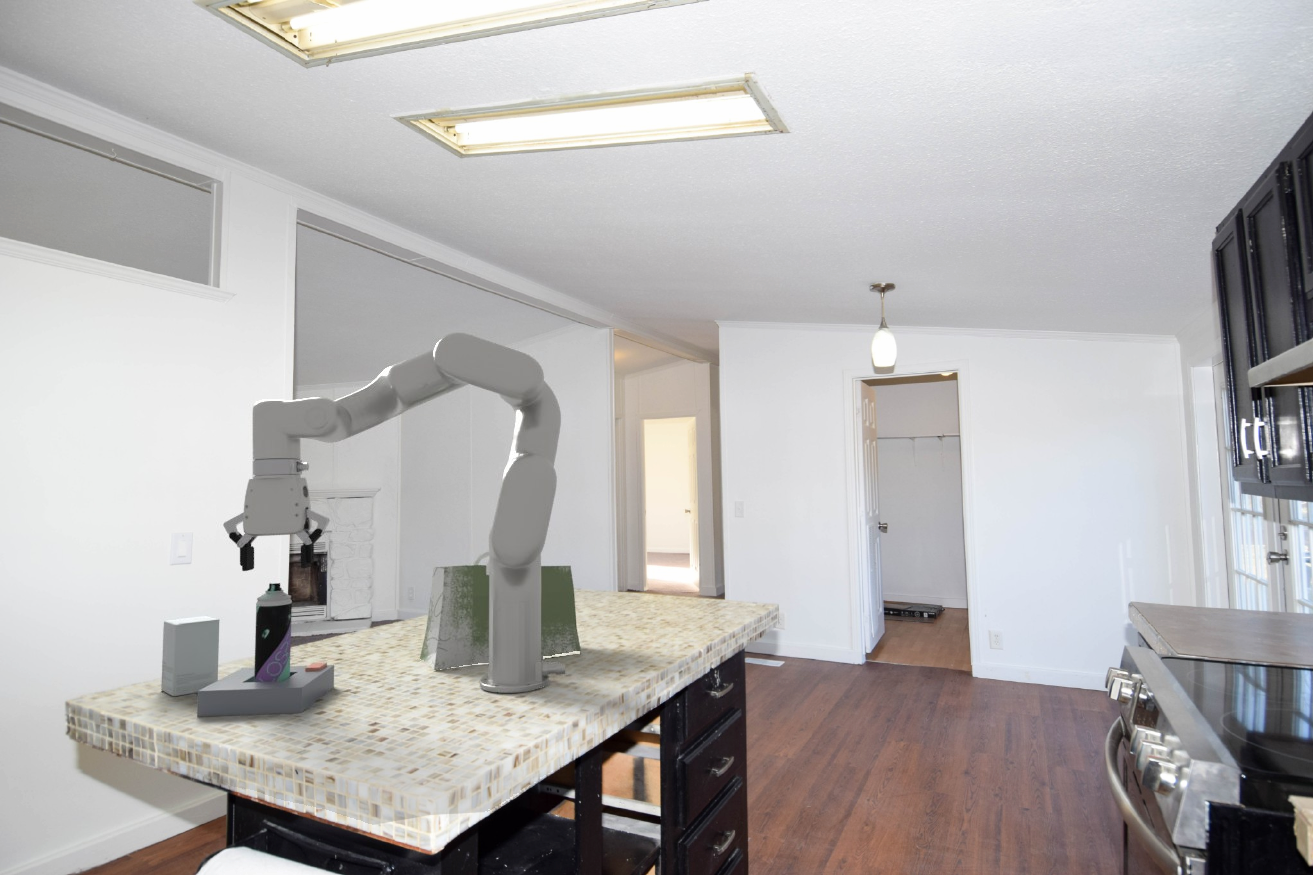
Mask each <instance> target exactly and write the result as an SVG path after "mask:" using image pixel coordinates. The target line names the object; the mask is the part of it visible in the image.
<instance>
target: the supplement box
mask: <svg viewBox="0 0 1313 875" xmlns="http://www.w3.org/2000/svg"><path fill="white" fill-rule="evenodd" d="M162 630H163V631H162V632H163V634H162V639H163V640H162V659H161V660H162V661H161V663H162V664H161V668H162V669H161V688H160V689H161V691H163V692H164V693H166V694H168V695H170V696H172V697H178V696H183V695H185V696H186V695H190V694H195V693H196V694H197V693H198V691H199V690H201V689H203V688H205V687H207V686H209V685H211V684H212V683H214V682H216V681H218V680H219V648H220V646H219V644H220V618H215V617H212V616H208V615H201V616H192V617H183V618H177V619H169V620H164V621H163V629H162Z"/></svg>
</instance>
